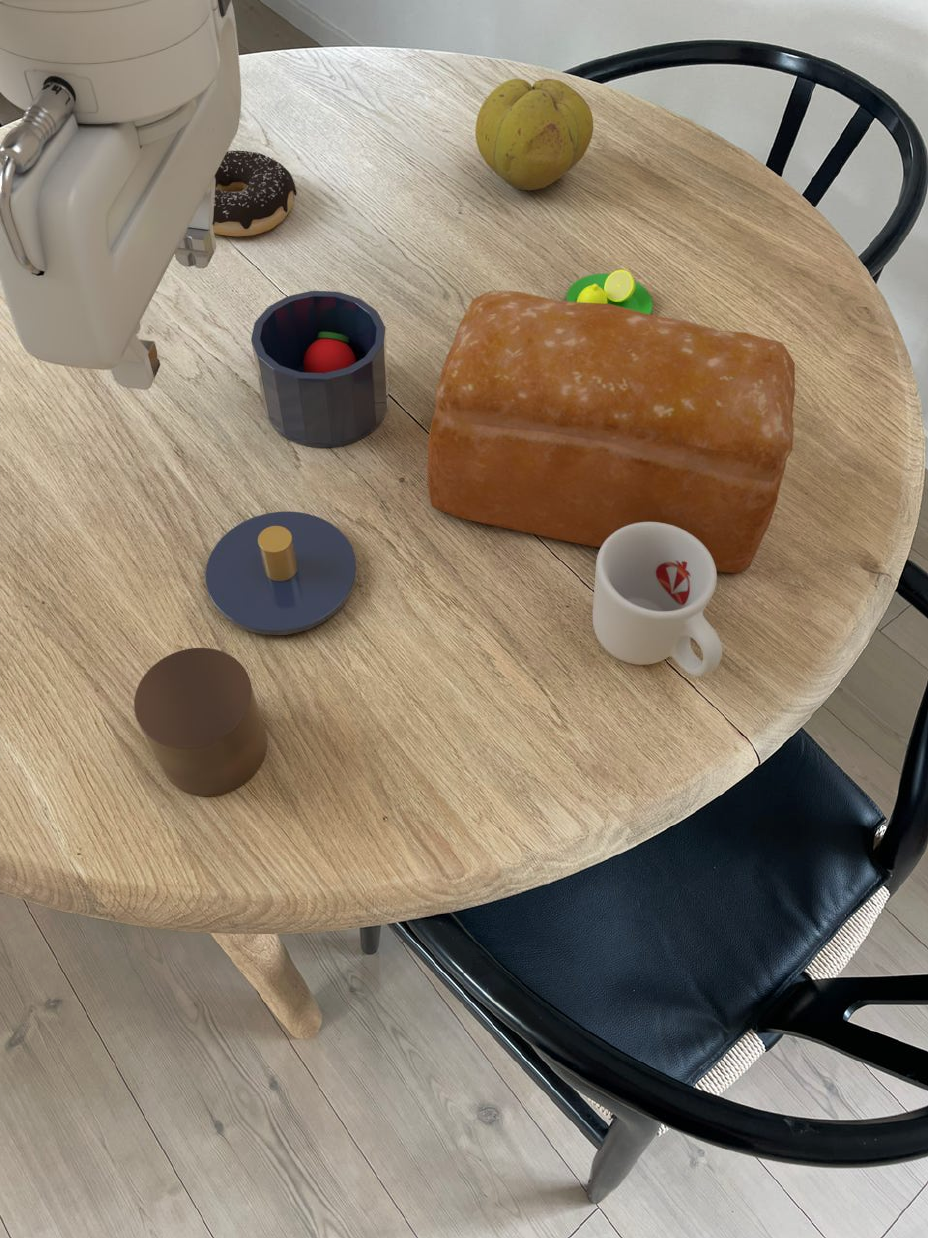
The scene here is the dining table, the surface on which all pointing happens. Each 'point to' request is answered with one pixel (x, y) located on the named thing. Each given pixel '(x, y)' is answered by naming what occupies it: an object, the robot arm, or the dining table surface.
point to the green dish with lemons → (611, 291)
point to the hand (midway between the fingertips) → (170, 315)
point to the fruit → (533, 131)
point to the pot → (321, 401)
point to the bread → (610, 424)
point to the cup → (655, 597)
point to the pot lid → (281, 573)
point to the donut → (251, 194)
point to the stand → (202, 721)
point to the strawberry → (328, 354)
